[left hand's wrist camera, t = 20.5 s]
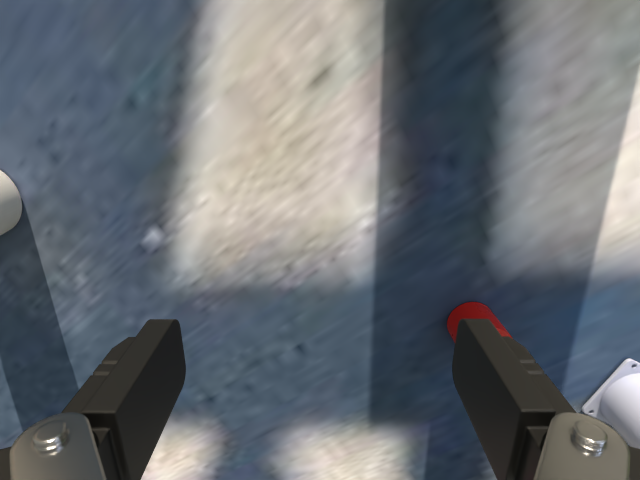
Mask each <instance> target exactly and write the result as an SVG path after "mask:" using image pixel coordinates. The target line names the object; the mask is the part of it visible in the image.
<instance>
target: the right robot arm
mask: <svg viewBox="0 0 640 480" xmlns="http://www.w3.org/2000/svg"><path fill="white" fill-rule="evenodd" d="M582 411H583V412H584V413H585V414H587V415H590V416H592V417H594V418H596V419H599V420H601V421H603V422H605V423H607V424H610V425H612V426H613V427H614V428H615V430H616V431H617V432H618V433H619V434H620V435H621V436H622V438H623V439H624V440H625V441H626V442H627V443H628V444H629V445H630V447H634V448H638V449H640V363H638V362H636V361H634V360H632V359H626V360H625V361H624V362H623V363H622V364H621V365H620V366H619V367H618V368H617V369H616V371H615V372H614V373H613V374H612V375H611V376H610V377H609V378H608V379H607V380H606V382H605V383H604V384H603V385H602V386H601V387H600V388H599V389H598V390H597V391H596V392H595V394H594V395H593V396H592V397H591V398H590V399H589V400H588V401H587V402H586V403H585V405H584V406H583V407H582Z"/></svg>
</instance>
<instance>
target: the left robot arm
mask: <svg viewBox="0 0 640 480" xmlns="http://www.w3.org/2000/svg"><path fill="white" fill-rule="evenodd" d="M185 373H186V364H185V357H184V350H183V343H182V336H181V329H180V324H179V322H178V320H176V319H150V320H148V321H147V322H146V324H145V325H144V326H143V328H142V329H141V330H140V332H139V333H138V335H137V336H136V337H128V338H127V339H125V340H124V341H122V342H121V343H119V344H118V345H117V346H115V347H114V348H112V349H111V351H110V352H109V353H108V354H107V356H106V357H105V358H104V360H103V361H102V364H100V365H99V366H98V367H97V368H96V370H95V371H94V372H93V375H91V376H90V377H89V378H88V380H87V381H86V382H85V384H84V385H83V386H82V387H81V389H80V390H79V391H78V392H77V394H76V395H75V396H74V397H73V399H72V400H71V401H70V402H69V404H68V405H67V406H66V407H65V409H64V410H63V411H62V413H60V414H56V415H53V416H50V417H47V418H45V419H43V420H41V421H39V422H37V423H35V424H33V425H32V426H30V427H29V428H28V429H26V430H25V431H24V432H23V433H22V434H21V435H20V436H19V437H18V438H17V439H16V440H15V442H14V443H13V445H12V447H8V448H4V449H0V480H141V477H142V475H143V473H144V471H145V469H146V466H147V464H148V462H149V460H150V458H151V455H152V453H153V451H154V449H155V447H156V444H157V442H158V440H159V438H160V436H161V434H162V431H163V429H164V427H165V425H166V423H167V420H168V418H169V416H170V414H171V412H172V409H173V407H174V405H175V403H176V401H177V398H178V396H179V394H180V392H181V390H182V387H183V384H184V380H185ZM452 373H453V380H454V384H455V387H456V389H457V391H458V393H459V396H460V398H461V400H462V402H463V405H464V407H465V409H466V411H467V413H468V416H469V418H470V420H471V422H472V424H473V427H474V429H475V431H476V433H477V436H478V438H479V440H480V442H481V444H482V447H483V449H484V451H485V453H486V456H487V458H488V460H489V462H490V464H491V467H492V469H493V471H494V473H495V475H496V478H497V480H640V449H638V448H634V447H630V446H628V445H627V443H626V442H625V440H624V439H623V438H622V437H621V436H620V435H619V434H618V433H617V432H616V431H615V430H614V429H612V428H611V427H610V426H608V425H607V424H605V423H603V422H601V421H599V420H597V419H595V418H593V417H590V416H587V415H584V414H580V413H576V412H575V410H574V409H573V408H572V407H571V405H570V404H569V403H568V401H567V400H566V399H565V398H564V396H563V395H562V394H561V393H560V391H559V390H558V389H557V387H556V386H555V385H554V384H553V382H552V381H551V380H550V379H549V377H548V376H547V375H546V374H544V371H543V370H542V368H541V367H540V366H539V365H538V363H536V362H535V359H534V358H533V357H532V356H531V354H530V353H529V352H528V351H527V349H526V348H525V347H524V346H522V345H521V344H519V343H518V342H516V341H515V340H513V339H512V338H511V337H509V336H501V334H500V333H499V332H498V330H497V329H496V328H495V326H494V325H493V323H492V322H491V321H490V320H489V319H460V321H459V323H458V327H457V335H456V342H455V349H454V356H453V364H452Z"/></svg>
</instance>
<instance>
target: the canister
mask: <svg viewBox="0 0 640 480" xmlns="http://www.w3.org/2000/svg"><path fill="white" fill-rule="evenodd" d="M460 319H489V320H490V321H491V322H492V323H493V325H494V326H495V328H496V329H497V330H498V332H499V333H500V334H501V336H509V337H511V335H510V334H509V333H508V331H507V330H506V329H505V328H504V326H503V325H502V324H501V323H500V321H499V320H498V319H497V317H496V316H495V315H494V314H493V312H492V311H491V310H490V309H489V308H488V307H487V306H486V305H484V304H482V303H478V302H467V303H464V304H461V305H459V306H458V307H456V308H455V309H454V310H453V311H452V312H451V314H450V315H449V317H448V321H447V329H448V332H449V333H450V335H451V337H452V339H453V341H454V343H455V342H456V335H457V327H458V323H459V321H460ZM511 338H512V337H511ZM512 339H513V338H512Z"/></svg>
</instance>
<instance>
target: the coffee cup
mask: <svg viewBox="0 0 640 480" xmlns="http://www.w3.org/2000/svg"><path fill="white" fill-rule="evenodd" d="M21 213H22V201H21V197H20V194H19V192H18V190H17V188H16V186H15V184H14V183H13V182H12V181H11V179H10V178H9V177H8V176H7V175H6V174H5V173H3V172H2V171H1V170H0V235H2V234H4V233H6V232H7V231H9V230H11V229H12V228H13V227H14V226H15V225H16V224H17V223H18V221H19V219H20V217H21Z"/></svg>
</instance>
